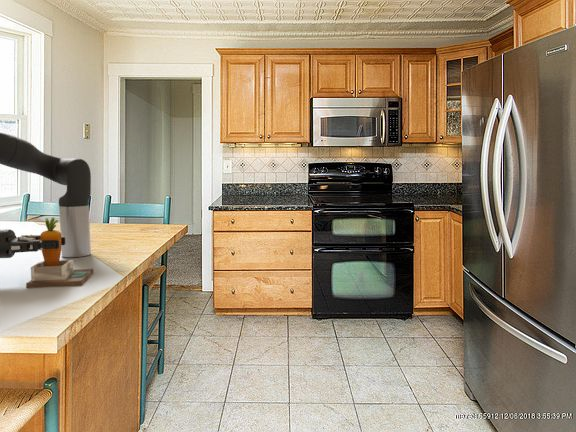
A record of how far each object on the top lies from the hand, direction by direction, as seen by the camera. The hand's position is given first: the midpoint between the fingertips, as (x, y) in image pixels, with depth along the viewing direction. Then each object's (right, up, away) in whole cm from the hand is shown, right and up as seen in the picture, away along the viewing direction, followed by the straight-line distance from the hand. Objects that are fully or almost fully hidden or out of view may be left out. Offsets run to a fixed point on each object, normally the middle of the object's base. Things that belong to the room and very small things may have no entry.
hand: (61, 242), depth 121 cm
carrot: (-3, -8, 0) cm, 9 cm away
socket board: (-1, -10, +1) cm, 10 cm away
